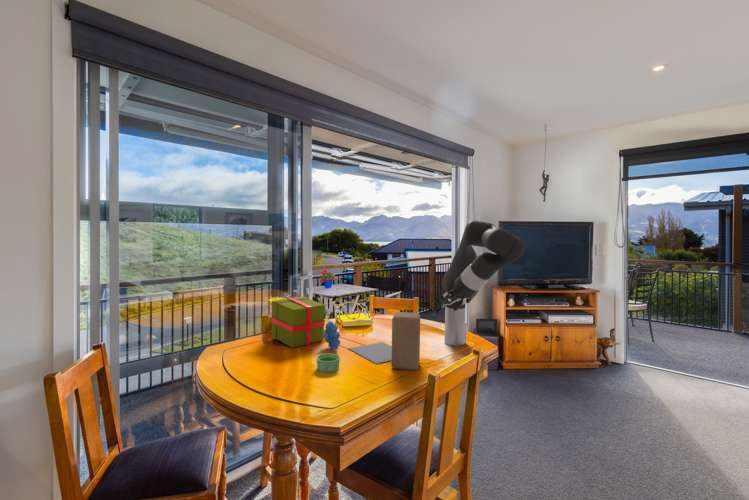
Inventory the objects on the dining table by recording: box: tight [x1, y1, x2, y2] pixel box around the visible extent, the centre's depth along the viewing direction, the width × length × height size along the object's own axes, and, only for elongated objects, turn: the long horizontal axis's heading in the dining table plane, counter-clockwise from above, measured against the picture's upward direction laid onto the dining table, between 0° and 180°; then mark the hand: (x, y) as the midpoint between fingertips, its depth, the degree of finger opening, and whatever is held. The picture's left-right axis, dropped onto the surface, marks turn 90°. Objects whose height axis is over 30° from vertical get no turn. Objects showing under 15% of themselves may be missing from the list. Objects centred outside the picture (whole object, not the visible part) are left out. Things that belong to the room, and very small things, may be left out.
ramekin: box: [315, 353, 341, 373], centre depth 139 cm, size 9×9×4 cm
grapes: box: [323, 321, 341, 351], centre depth 162 cm, size 12×7×12 cm, turn 36°
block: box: [390, 311, 421, 371], centre depth 143 cm, size 10×10×20 cm
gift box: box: [270, 296, 326, 348], centre depth 176 cm, size 21×21×25 cm
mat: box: [348, 341, 392, 365], centre depth 159 cm, size 18×22×1 cm
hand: (444, 309), depth 125 cm, fingers open, 8 cm apart
